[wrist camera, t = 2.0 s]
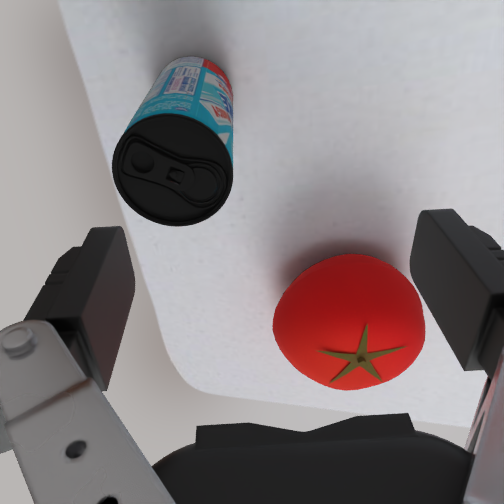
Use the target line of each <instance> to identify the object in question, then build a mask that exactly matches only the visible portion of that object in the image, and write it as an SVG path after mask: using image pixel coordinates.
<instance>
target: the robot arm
mask: <svg viewBox="0 0 504 504" xmlns="http://www.w3.org/2000/svg"><path fill="white" fill-rule="evenodd" d="M410 272H411V276H412V279H413V281H414V283H415V285H416V287H417V288H418V290H419V292H420V294H421V295H422V297H423V299H424V301H425V302H426V304H427V306H428V308H429V310H430V311H431V313H432V315H433V317H434V318H435V320H436V322H437V324H438V325H439V327H440V329H441V331H442V333H443V334H444V336H445V338H446V340H447V341H448V343H449V345H450V347H451V349H452V350H453V352H454V354H455V356H456V357H457V359H458V361H459V363H460V364H461V366H462V368H463V370H464V371H473V370H485V372H486V374H487V375H488V377H487V380H486V382H485V385H484V388H483V391H482V394H481V397H480V400H479V403H478V407H477V410H476V413H475V416H474V419H473V422H472V426H471V429H470V432H469V435H468V438H467V442H466V444H465V447H464V449H463V448H461V447H460V446H458V445H455V444H454V443H452V442H450V441H448V440H445V439H443V438H440V437H438V436H435V435H432V434H428V433H425V432H421V431H416V430H415V429H414V427H413V424H412V422H411V419H410V416H409V414H408V413H402V414H385V415H368V416H356V417H353V418H349V419H346V420H343V421H340V422H337V423H334V424H331V425H327V426H324V427H321V428H318V429H315V430H312V431H307V432H299V431H293V430H287V429H281V428H276V427H270V426H264V425H259V424H253V423H236V424H221V425H220V424H219V425H203V426H197V430H196V442H195V443H194V444H190V445H187V446H185V447H183V448H181V449H178V450H176V451H174V452H172V453H171V454H169V455H167V456H165V457H164V458H162V459H161V460H160V461H158V462H157V463H155V464H154V465H153V466H151V465H150V464H149V462H148V461H147V459H146V458H145V456H144V455H143V453H142V452H141V450H140V449H139V447H138V446H137V444H136V443H135V441H134V440H133V438H132V437H131V435H130V434H129V432H128V430H127V429H126V427H125V426H124V424H123V423H122V421H121V420H120V418H119V417H118V416H117V414H116V412H115V411H114V409H113V408H112V407H111V405H110V403H109V402H108V400H107V399H106V397H105V396H104V395H103V393H102V391H107V389H108V385H109V382H110V378H111V375H112V371H113V367H114V364H115V360H116V357H117V354H118V350H119V347H120V343H121V340H122V336H123V333H124V329H125V325H126V322H127V319H128V315H129V311H130V308H131V304H132V301H133V297H134V293H135V276H134V271H133V266H132V262H131V258H130V254H129V250H128V246H127V241H126V237H125V233H124V230H123V228H122V227H121V226H112V227H95V228H91V229H90V231H89V233H88V235H87V237H86V239H85V241H84V243H83V245H82V246H81V247H72V248H71V249H70V250H69V251H67V252H66V253H65V254H64V255H62V256H61V257H60V258H59V259H58V261H57V262H56V264H55V266H54V268H53V270H52V271H51V274H50V275H49V276H48V278H47V280H46V282H45V285H44V286H43V287H42V289H41V290H40V292H39V294H38V296H37V298H36V299H35V301H34V303H33V305H32V306H31V308H30V310H29V312H28V313H27V315H26V317H25V318H24V320H23V321H21V322H18V323H15V324H12V325H10V326H8V327H6V328H4V329H2V330H1V331H0V453H3V452H6V451H9V450H11V449H13V451H14V453H15V456H16V458H17V461H18V463H19V466H20V468H21V471H22V473H23V476H24V478H25V481H26V484H27V486H28V489H29V491H30V494H31V496H32V499H33V501H34V504H504V250H501V247H500V246H499V245H498V244H497V242H496V241H495V240H494V239H493V238H492V237H491V236H490V235H488V234H486V233H485V232H483V231H481V230H479V229H478V228H476V227H474V226H468V225H467V224H466V223H465V222H464V221H463V219H462V218H461V217H460V216H459V215H458V214H457V213H456V212H455V211H454V210H453V209H436V210H423V211H422V212H421V213H420V215H419V217H418V221H417V226H416V231H415V236H414V241H413V246H412V251H411V256H410Z"/></svg>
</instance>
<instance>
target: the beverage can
mask: <svg viewBox="0 0 504 504" xmlns="http://www.w3.org/2000/svg"><path fill="white" fill-rule="evenodd" d="M112 173H113V178H114V182H115V185H116V187H117V189H118V191H119V193H120V195H121V197H122V198H123V199H124V201H125V202H126V203H127V204H128V205H129V206H130V207H131V208H132V209H133V210H134V211H135V212H137V213H138V214H139V215H141V216H143V217H144V218H146V219H148V220H150V221H153V222H155V223H158V224H162V225H167V226H188V225H193V224H197V223H199V222H202V221H204V220H206V219H208V218H210V217H211V216H212V215H214V214H215V213H216V212H217V211H218V210H219V209H220V208H221V207H222V206H223V204H224V203H225V201H226V200H227V198H228V196H229V194H230V191H231V188H232V183H233V94H232V88H231V85H230V83H229V80H228V78H227V77H226V75H225V74H224V72H223V71H222V70H221V69H220V68H219V67H218V66H217V65H215V64H214V63H212V62H210V61H209V60H206V59H203V58H200V57H193V56H190V57H182V58H179V59H177V60H174V61H173V62H171V63H170V64H168V65H167V66H166V67H165V68H164V69H163V70H162V72H161V73H160V75H159V77H158V78H157V80H156V82H155V83H154V85H153V86H152V88H151V89H150V91H149V93H148V94H147V96H146V97H145V99H144V100H143V102H142V104H141V105H140V107H139V109H138V110H137V112H136V113H135V115H134V117H133V118H132V120H131V122H130V123H129V125H128V127H127V129H126V130H125V132H124V134H123V135H122V137H121V138H120V140H119V142H118V143H117V145H116V148H115V151H114V154H113V160H112Z"/></svg>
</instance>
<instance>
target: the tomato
mask: <svg viewBox="0 0 504 504" xmlns="http://www.w3.org/2000/svg"><path fill="white" fill-rule="evenodd" d="M273 333H274V336H275V340H276V342H277V344H278V346H279V348H280V350H281V351H282V353H283V354H284V356H285V357H286V358H287V359H288V361H289V362H290V363H291V364H292V365H293V366H294V367H295V368H296V369H297V370H299V371H300V372H301V373H302V374H304V375H306V376H307V377H309V378H310V379H312V380H314V381H316V382H318V383H320V384H322V385H325V386H327V387H330V388H334V389H339V390H358V389H363V388H367V387H371V386H375V385H378V384H381V383H384V382H387V381H389V380H391V379H393V378H395V377H397V376H398V375H400V374H401V373H402V372H403V371H405V370H406V369H407V368H408V367H409V366H410V365H411V364H412V363H413V362H414V361H415V359H416V358H417V356H418V355H419V353H420V351H421V350H422V347H423V344H424V341H425V321H424V316H423V309H422V304H421V301H420V298H419V295H418V293H417V292H416V290H415V288H414V286H413V285H412V284H411V283H410V282H409V280H408V279H407V278H406V277H405V276H404V275H403V274H402V273H400V272H399V271H398V270H397V269H395V268H394V267H393V266H392V265H390V264H388V263H386V262H384V261H381V260H379V259H377V258H374V257H372V256H367V255H362V254H344V255H338V256H334V257H331V258H328V259H325V260H323V261H321V262H319V263H317V264H314V265H313V266H311V267H310V268H308V269H307V270H305V271H304V272H302V273H301V274H300V275H299V276H298V277H297V278H296V279H295V280H294V281H293V282H292V284H291V285H290V286H289V287H288V288H287V290H286V291H285V292H284V293H283V295H282V297H281V299H280V301H279V303H278V305H277V307H276V309H275V313H274V318H273Z"/></svg>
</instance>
